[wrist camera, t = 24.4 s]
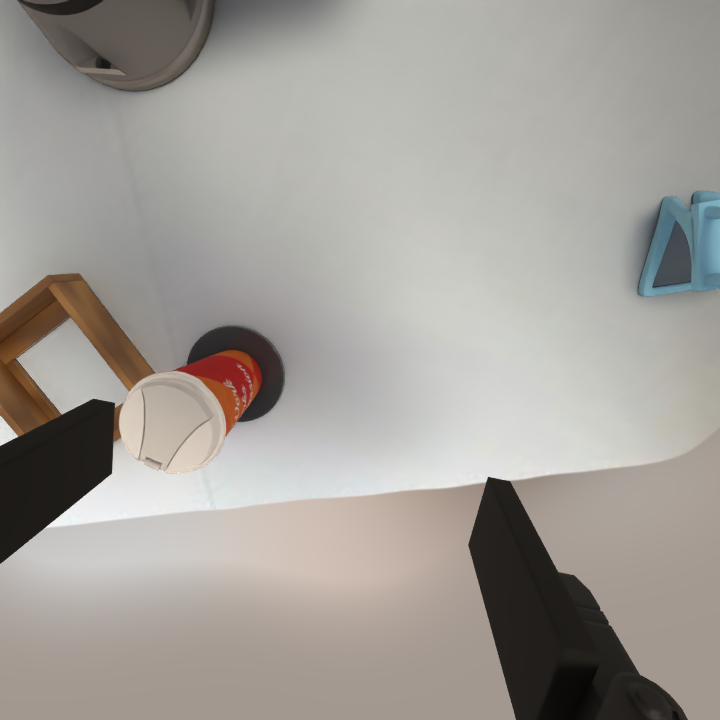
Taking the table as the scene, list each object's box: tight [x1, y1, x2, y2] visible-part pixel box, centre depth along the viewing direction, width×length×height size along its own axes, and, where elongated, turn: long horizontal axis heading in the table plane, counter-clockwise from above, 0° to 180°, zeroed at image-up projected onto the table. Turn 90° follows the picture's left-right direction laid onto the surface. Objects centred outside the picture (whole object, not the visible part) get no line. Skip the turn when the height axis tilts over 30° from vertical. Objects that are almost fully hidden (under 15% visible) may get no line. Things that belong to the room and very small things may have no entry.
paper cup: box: [119, 350, 262, 474], centre depth 37 cm, size 8×8×14 cm
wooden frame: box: [0, 274, 155, 442], centre depth 44 cm, size 16×14×4 cm
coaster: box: [187, 326, 285, 422], centre depth 44 cm, size 10×10×1 cm
